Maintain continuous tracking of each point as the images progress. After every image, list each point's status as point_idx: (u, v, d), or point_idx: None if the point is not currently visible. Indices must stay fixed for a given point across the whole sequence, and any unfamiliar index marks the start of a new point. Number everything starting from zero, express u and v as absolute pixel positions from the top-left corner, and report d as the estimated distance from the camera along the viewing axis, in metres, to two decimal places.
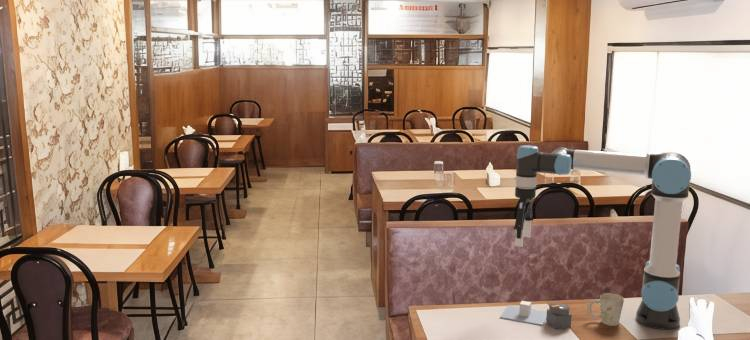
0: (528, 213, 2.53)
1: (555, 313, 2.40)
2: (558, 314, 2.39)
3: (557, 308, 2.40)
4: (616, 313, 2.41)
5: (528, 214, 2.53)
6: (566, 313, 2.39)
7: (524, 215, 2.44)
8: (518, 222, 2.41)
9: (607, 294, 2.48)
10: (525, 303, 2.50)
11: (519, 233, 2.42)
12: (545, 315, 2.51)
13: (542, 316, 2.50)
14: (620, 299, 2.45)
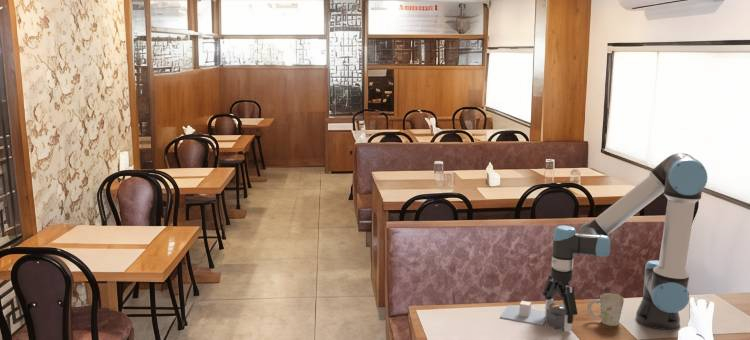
0: (555, 292, 2.46)
1: (555, 313, 2.40)
2: (558, 314, 2.39)
3: (557, 308, 2.40)
4: (616, 313, 2.41)
5: (554, 293, 2.46)
6: None
7: None
8: (573, 308, 2.33)
9: (607, 294, 2.48)
10: (525, 303, 2.50)
11: (571, 318, 2.35)
12: None
13: (542, 316, 2.50)
14: (620, 299, 2.45)
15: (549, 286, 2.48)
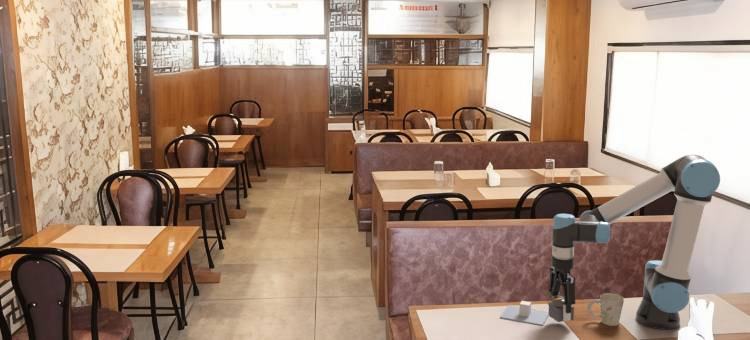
0: (559, 285, 2.44)
1: (558, 306, 2.39)
2: (561, 307, 2.38)
3: (559, 301, 2.40)
4: (616, 313, 2.41)
5: (559, 287, 2.44)
6: None
7: None
8: (572, 298, 2.34)
9: (607, 294, 2.48)
10: (525, 303, 2.50)
11: (570, 308, 2.37)
12: (545, 315, 2.51)
13: (542, 316, 2.50)
14: (620, 299, 2.45)
15: (553, 279, 2.46)
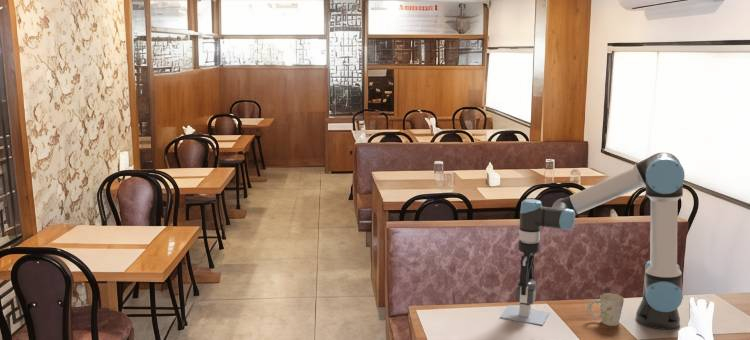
0: (530, 269, 2.50)
1: (517, 286, 2.48)
2: (519, 288, 2.47)
3: None
4: (616, 313, 2.41)
5: (530, 270, 2.51)
6: None
7: (528, 271, 2.44)
8: (522, 280, 2.42)
9: (607, 294, 2.48)
10: (525, 303, 2.50)
11: (524, 290, 2.44)
12: (545, 315, 2.51)
13: (542, 316, 2.50)
14: (620, 299, 2.45)
15: None
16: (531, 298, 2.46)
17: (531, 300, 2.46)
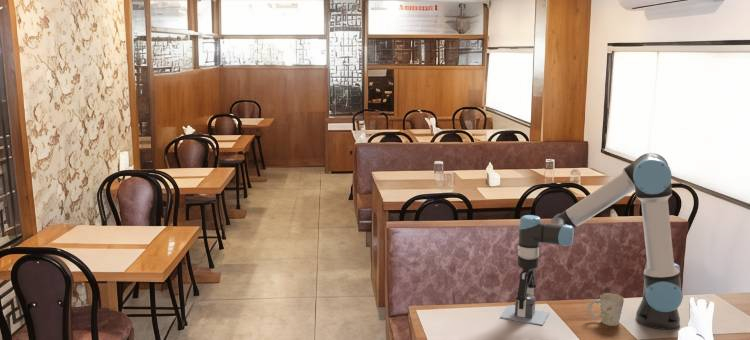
0: (531, 281, 2.53)
1: (516, 301, 2.50)
2: None
3: None
4: (616, 313, 2.41)
5: (531, 282, 2.53)
6: (526, 303, 2.47)
7: (526, 285, 2.44)
8: (520, 293, 2.41)
9: (607, 294, 2.48)
10: None
11: (521, 304, 2.43)
12: (545, 315, 2.51)
13: (542, 316, 2.50)
14: (620, 299, 2.45)
15: None
16: (530, 313, 2.47)
17: (530, 315, 2.47)
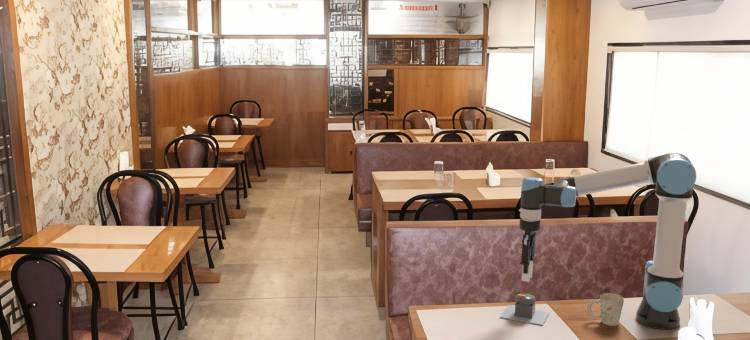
0: (531, 249, 2.48)
1: (516, 301, 2.50)
2: (518, 302, 2.49)
3: (520, 297, 2.50)
4: (616, 313, 2.41)
5: (531, 251, 2.48)
6: (526, 303, 2.47)
7: (529, 250, 2.44)
8: (524, 259, 2.42)
9: (607, 294, 2.48)
10: None
11: (526, 268, 2.44)
12: (545, 315, 2.51)
13: (542, 316, 2.50)
14: (620, 299, 2.45)
15: None
16: (530, 313, 2.47)
17: (530, 315, 2.47)
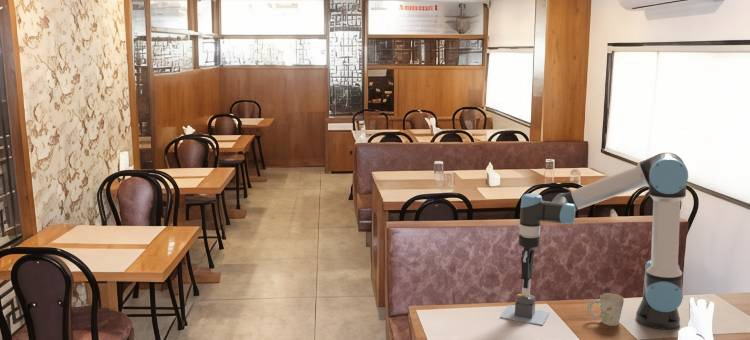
0: (529, 266, 2.48)
1: (516, 301, 2.50)
2: (518, 302, 2.49)
3: (520, 297, 2.50)
4: (616, 313, 2.41)
5: (529, 267, 2.48)
6: (526, 303, 2.47)
7: (529, 266, 2.46)
8: (524, 274, 2.45)
9: (607, 294, 2.48)
10: None
11: (526, 283, 2.47)
12: (545, 315, 2.51)
13: (542, 316, 2.50)
14: (620, 299, 2.45)
15: None
16: (530, 313, 2.47)
17: (530, 315, 2.47)
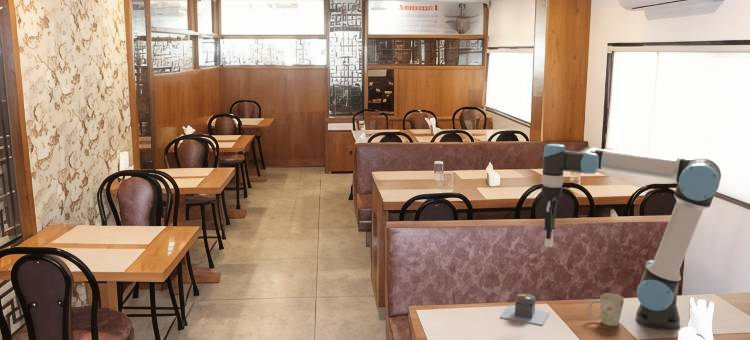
0: (552, 216, 2.49)
1: (516, 301, 2.50)
2: (518, 302, 2.49)
3: (520, 297, 2.50)
4: (616, 313, 2.41)
5: (552, 218, 2.49)
6: (526, 303, 2.47)
7: (552, 216, 2.46)
8: (547, 224, 2.45)
9: (607, 294, 2.48)
10: None
11: (549, 234, 2.48)
12: (545, 315, 2.51)
13: (542, 316, 2.50)
14: (620, 299, 2.45)
15: None
16: (530, 313, 2.47)
17: (530, 315, 2.47)
